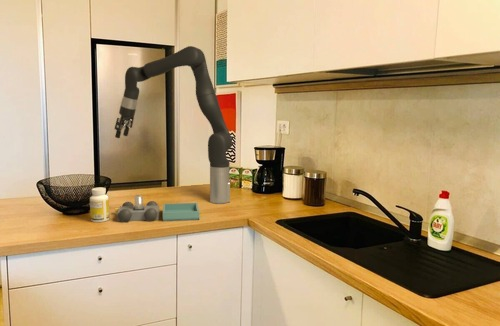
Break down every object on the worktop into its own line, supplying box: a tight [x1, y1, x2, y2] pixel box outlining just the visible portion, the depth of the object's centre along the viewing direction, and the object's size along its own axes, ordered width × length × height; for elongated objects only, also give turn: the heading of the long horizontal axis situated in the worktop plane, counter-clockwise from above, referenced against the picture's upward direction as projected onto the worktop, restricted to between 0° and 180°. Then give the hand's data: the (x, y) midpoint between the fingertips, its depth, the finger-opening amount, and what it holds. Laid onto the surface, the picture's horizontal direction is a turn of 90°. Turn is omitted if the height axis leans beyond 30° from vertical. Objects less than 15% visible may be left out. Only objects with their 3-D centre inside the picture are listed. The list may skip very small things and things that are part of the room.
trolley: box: [114, 200, 160, 223], centre depth 169 cm, size 18×14×5 cm
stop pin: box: [134, 194, 144, 210], centre depth 169 cm, size 3×3×9 cm
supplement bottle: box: [89, 186, 110, 223], centre depth 164 cm, size 7×7×13 cm
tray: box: [162, 202, 200, 222], centre depth 173 cm, size 15×15×4 cm
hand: (121, 136), depth 211 cm, fingers open, 8 cm apart
